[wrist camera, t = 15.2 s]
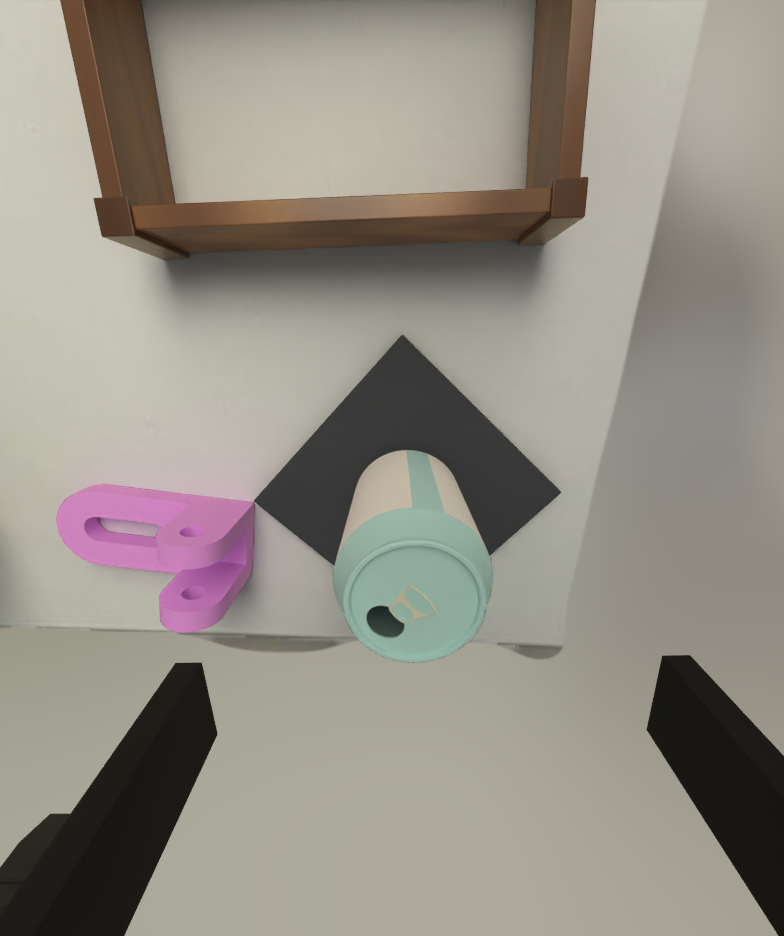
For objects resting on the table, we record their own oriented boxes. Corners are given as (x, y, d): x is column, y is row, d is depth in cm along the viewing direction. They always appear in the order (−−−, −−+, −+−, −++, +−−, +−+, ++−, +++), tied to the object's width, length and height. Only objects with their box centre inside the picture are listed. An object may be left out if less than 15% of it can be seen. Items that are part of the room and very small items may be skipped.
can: (443, 551, 29) (475, 690, 17) (346, 532, 28) (313, 660, 17) (469, 459, 26) (526, 546, 15) (366, 437, 26) (343, 509, 15)
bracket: (254, 502, 28) (210, 551, 22) (252, 571, 30) (211, 635, 23) (68, 479, 28) (-35, 521, 21) (76, 550, 29) (-17, 610, 23)
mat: (402, 334, 25) (402, 334, 24) (558, 489, 28) (561, 492, 27) (256, 498, 28) (253, 501, 28) (409, 620, 31) (409, 626, 30)
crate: (568, -98, 19) (630, -255, 14) (544, 244, 23) (585, 216, 18) (102, -72, 19) (1, -216, 14) (163, 259, 24) (101, 236, 19)
